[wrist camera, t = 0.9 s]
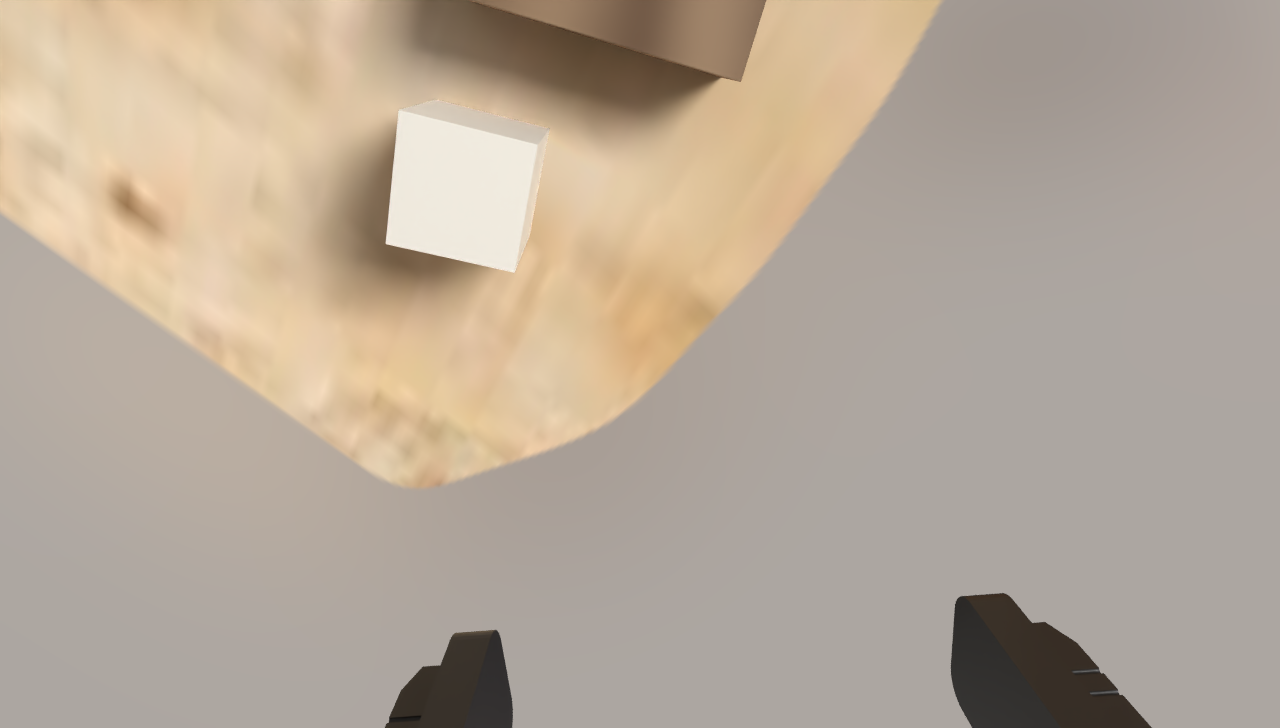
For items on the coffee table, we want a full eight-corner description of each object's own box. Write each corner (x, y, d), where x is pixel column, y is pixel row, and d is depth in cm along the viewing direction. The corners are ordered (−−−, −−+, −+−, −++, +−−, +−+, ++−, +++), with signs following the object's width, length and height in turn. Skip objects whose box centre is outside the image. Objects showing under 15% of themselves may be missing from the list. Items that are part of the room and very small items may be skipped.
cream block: (423, 210, 31) (385, 243, 26) (436, 99, 29) (398, 109, 24) (529, 235, 32) (514, 272, 27) (549, 128, 30) (537, 144, 25)
